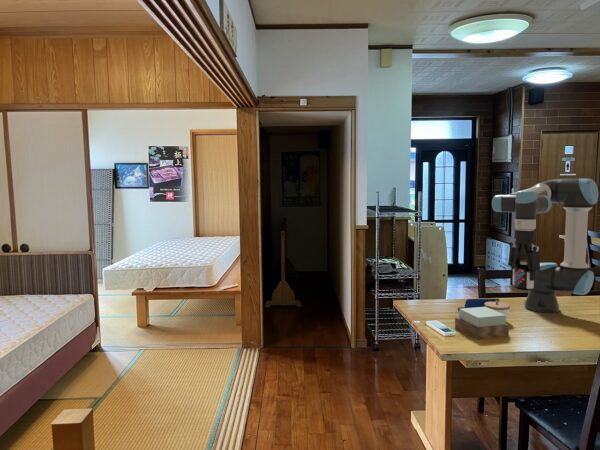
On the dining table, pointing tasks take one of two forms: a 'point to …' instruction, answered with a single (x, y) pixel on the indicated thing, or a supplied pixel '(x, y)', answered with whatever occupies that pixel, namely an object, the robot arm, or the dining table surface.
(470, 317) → the sage top block
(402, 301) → the dining table surface
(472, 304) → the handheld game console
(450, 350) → the dining table surface
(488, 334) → the walnut base block
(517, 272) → the supplement container
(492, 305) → the lidded jar
